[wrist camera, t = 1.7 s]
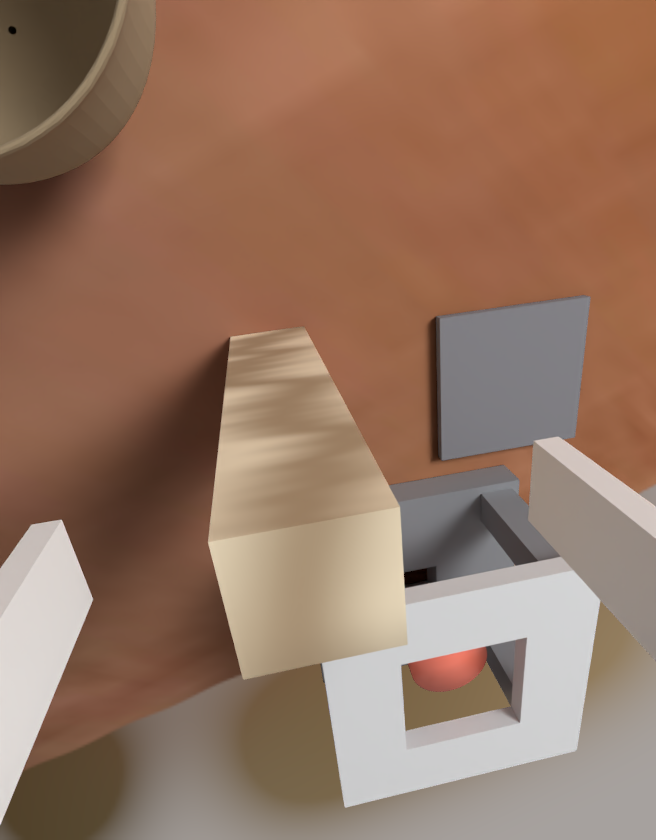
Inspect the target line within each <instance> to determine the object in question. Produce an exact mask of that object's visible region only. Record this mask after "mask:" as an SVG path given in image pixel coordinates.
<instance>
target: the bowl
mask: <svg viewBox="0 0 656 840" xmlns="http://www.w3.org/2000/svg"><path fill="white" fill-rule="evenodd" d="M155 29H156V1H155V0H0V185H12V184H23V183H31V182H36V181H41V180H45V179H49V178H52V177H55V176H58V175H61V174H64V173H66V172H68V171H70V170H73V169H75V168H77V167H79V166H80V165H82V164H84V163H85V162H87V161H89V160H90V159H92V158H93V157H94V156H96V155H97V154H98V153H100V152H101V151H102V150H103V149H104V148H105V147H106V146H107V145H108V144H109V143H110V142H111V141H113V140H114V138H115V137H116V136H117V135H118V134H119V132H120V131H121V130H122V129H123V127H124V126H125V125H126V123H127V121H128V120H129V118H130V117H131V115H132V114H133V112H134V110H135V108H136V106H137V104H138V102H139V100H140V98H141V95H142V92H143V90H144V87H145V84H146V82H147V78H148V74H149V70H150V66H151V62H152V56H153V49H154V43H155Z"/></svg>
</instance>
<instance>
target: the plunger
mask: <svg viewBox="0 0 656 840" xmlns="http://www.w3.org/2000/svg"><path fill="white" fill-rule="evenodd" d="M486 660H487V649H486V647H481V648H476V649H471V650H467V651H462V652H458V653H453V654H449V655H444V656H439V657H435V658H430V659H426V660H421V661H416V662H412V663H408V666H409V668H410V671H411V674H412V677H413V679H414V681H415V682H416V683H417V685H419V686H420V687H422V688H423V689H426V690H429V691H435V692H444V691H450V690H454V689H457V688H459V687H461V686H463V685H465V684H467V683H468V682H470V681H471V680H473V679H474V678H475V677H476V676H477V675H478V674H479V673H480V672H481V670H482V669H483V667H484V665H485V663H486Z"/></svg>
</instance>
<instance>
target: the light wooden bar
mask: <svg viewBox="0 0 656 840" xmlns="http://www.w3.org/2000/svg"><path fill="white" fill-rule="evenodd" d="M208 544H209V548H210V552H211V556H212V560H213V564H214V568H215V571H216V575H217V579H218V583H219V587H220V591H221V595H222V599H223V603H224V607H225V611H226V615H227V619H228V623H229V626H230V630H231V634H232V638H233V642H234V646H235V650H236V654H237V658H238V662H239V666H240V670H241V674H242V677H243V680H245V679H249V678H254V677H259V676H264V675H269V674H273V673H278V672H283V671H287V670H292V669H297V668H301V667H306V666H311V665H315V664H320V663H325V662H329V661H334V660H339V659H343V658H348V657H353V656H357V655H362V654H367V653H371V652H376V651H381V650H385V649H390V648H395V647H399V646H404V645H408V641H407V623H406V605H405V587H404V569H403V551H402V533H401V515H400V506H399V504H398V502H397V500H396V498H395V496H394V495H393V493H392V491H391V489H390V487H389V485H388V483H387V481H386V480H385V478H384V476H383V474H382V472H381V470H380V468H379V466H378V465H377V463H376V461H375V459H374V457H373V455H372V453H371V451H370V449H369V448H368V446H367V444H366V442H365V440H364V438H363V436H362V434H361V433H360V431H359V429H358V427H357V425H356V423H355V421H354V419H353V418H352V416H351V414H350V412H349V410H348V408H347V406H346V404H345V403H344V401H343V399H342V397H341V395H340V393H339V391H338V389H337V388H336V386H335V384H334V382H333V380H332V378H331V376H330V374H329V372H328V371H327V369H326V367H325V365H324V363H323V361H322V359H321V357H320V356H319V354H318V352H317V350H316V348H315V346H314V344H313V342H312V341H311V339H310V337H309V335H308V333H307V331H306V329H305V327H304V326H303V327H296V328H289V329H282V330H275V331H268V332H261V333H254V334H247V335H240V336H233V337H230V346H229V355H228V364H227V374H226V383H225V392H224V401H223V410H222V419H221V428H220V438H219V447H218V456H217V465H216V474H215V483H214V493H213V502H212V511H211V520H210V529H209V538H208Z"/></svg>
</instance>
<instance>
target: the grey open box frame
mask: <svg viewBox="0 0 656 840" xmlns="http://www.w3.org/2000/svg"><path fill="white" fill-rule="evenodd" d="M389 487H390V489H391V491H392V493H393V495H394V496H395V498H396V500H397V502H398V504H399V506H400V515H401V533H402V551H403V569H404V572H409V571H414V570H419V569H424V568H427V581H422V582H417V583H412V584H407V585H404V587H405V605H406V623H407V641H408V645H404V646H399V647H395V648H390V649H385V650H381V651H376V652H371V653H367V654H362V655H357V656H353V657H348V658H343V659H339V660H334V661H329V662H325V663H320V664H321V670H322V676H323V682H324V683H325V686H326V692H327V699H328V705H329V712H330V718H331V724H332V731H333V737H334V743H335V750H336V755H337V762H338V769H339V775H340V781H341V788H342V794H343V799H344V805H345V807H349V806H354V805H358V804H361V803H366V802H370V801H374V800H378V799H382V798H386V797H390V796H394V795H398V794H402V793H406V792H410V791H414V790H418V789H423V788H426V787H431V786H435V785H439V784H443V783H447V782H451V781H455V780H459V779H463V778H467V777H471V776H475V775H480V774H484V773H488V772H491V771H495V770H500V769H504V768H508V767H512V766H516V765H520V764H524V763H528V762H532V761H536V760H540V759H545V758H549V757H553V756H556V755H561V754H565V753H569V752H573V751H576V750H577V744H578V738H579V732H580V725H581V718H582V712H583V706H584V700H585V694H586V687H587V681H588V675H589V668H590V661H591V656H592V649H593V643H594V637H595V630H596V623H597V617H598V611H599V605H600V599H599V598H598V597H597V596H596V595H595V594H594V593H593V591H592V590H591V589H590V588H589V587H588V586H587V585H586V584H585V583H584V581H583V580H582V579H581V578H580V577H579V576H578V575H577V574H576V573H575V571H574V570H573V569H572V568H571V567H570V566H569V565H568V564H567V563H566V562H565V560H564V559H563V558H562V557H561V556H560V555H559V554H558V553H557V552H556V550H555V549H554V548H553V547H552V546H551V545H550V544H549V543H548V542H547V541H546V539H545V538H544V537H543V536H542V535H541V534H540V533H539V532H538V531H537V529H536V528H535V527H534V526H533V525H532V524H531V523H530V522H529V521H528V514H529V506H528V505H527V504H526V503H525V502H524V500H523V499H522V498H521V497H520V496H519V495H518V494H519V479H518V478H517V477H516V476H515V475H514V474H513V473H512V472H511V471H510V470H509V469H508V468H507V467H506V466H504V465H500V466H495V467H489V468H484V469H478V470H472V471H467V472H461V473H456V474H450V475H445V476H439V477H433V478H428V479H422V480H417V481H411V482H405V483H400V484H394V485H389ZM514 564H515V566H514ZM481 647H486V649H487V660H486V661H487V663H488V665H489V666H490V668H491V670H492V672H493V674H494V676H495V678H496V679H497V681H498V683H499V685H500V687H501V688H502V690H503V692H504V694H505V696H506V698H507V700H508V702H509V703H510V705H511V707H507V708H503V709H498V710H494V711H489V712H485V713H481V714H477V715H472V716H468V717H464V718H459V719H455V720H451V721H446V722H442V723H438V724H434V725H429V726H425V727H421V728H416V729H412V730H408V731H405V719H404V704H403V688H402V672H401V666H403V665H408V663H412V662H416V661H421V660H426V659H430V658H435V657H439V656H444V655H449V654H453V653H458V652H462V651H467V650H471V649H476V648H481Z"/></svg>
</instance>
